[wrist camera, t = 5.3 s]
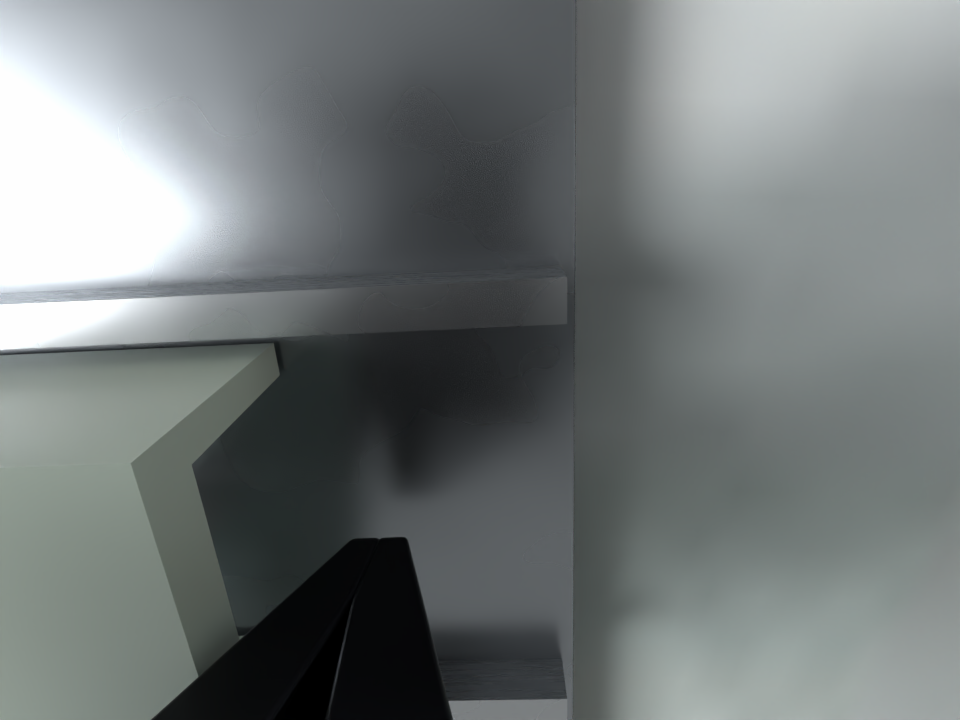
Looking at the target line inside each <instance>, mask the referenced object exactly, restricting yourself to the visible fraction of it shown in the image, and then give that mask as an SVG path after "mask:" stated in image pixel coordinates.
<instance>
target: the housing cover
mask: <svg viewBox="0 0 960 720" xmlns="http://www.w3.org/2000/svg"><path fill="white" fill-rule="evenodd" d="M279 376H280V373H279V368H278V363H277V358H276V353H275V348H274V343H263V344H241V345H218V346H196V347H173V348H151V349H129V350H106V351H84V352H61V353H39V354H17V355H0V720H151V719H152V718H153V717H154V716H155V715H156V714H158V713H159V712H160V711H161V710H162V709H163V708H164V707H165V706H166V705H168V704H169V703H170V702H171V701H172V700H173V699H174V698H175V697H176V696H178V695H179V694H180V693H181V692H182V691H183V690H184V689H185V688H186V687H188V686H189V685H190V684H191V683H192V682H193V681H194V680H195V679H196V678H198V677H199V676H200V675H201V674H202V673H203V672H204V671H205V670H206V669H208V668H209V667H210V666H211V665H212V664H213V663H214V662H215V661H216V660H218V659H219V658H220V657H221V656H222V655H223V654H224V653H225V652H226V651H228V650H229V649H230V648H231V647H232V646H233V645H234V644H235V643H236V642H238V641H239V640H240V639H241V638H242V637H243V636H238V633H237V629H236V625H235V622H234V618H233V614H232V611H231V607H230V603H229V600H228V596H227V592H226V589H225V585H224V581H223V578H222V574H221V570H220V567H219V563H218V559H217V556H216V552H215V548H214V545H213V541H212V537H211V534H210V530H209V527H208V523H207V519H206V516H205V512H204V508H203V505H202V501H201V497H200V494H199V490H198V486H197V483H196V479H195V475H194V472H193V468H192V464H193V463H194V462H195V461H196V460H197V459H198V458H199V457H200V456H201V455H202V454H203V453H204V452H205V451H206V450H207V449H208V448H209V447H210V445H211V444H212V443H213V442H214V441H215V440H216V439H217V438H218V437H219V436H220V435H221V434H222V433H223V432H224V431H225V430H226V429H227V428H228V427H229V426H230V425H231V424H232V423H233V422H234V421H235V420H236V419H237V418H238V417H239V416H240V415H241V414H242V413H243V412H244V411H245V410H246V409H247V408H248V407H249V406H250V405H251V404H252V403H253V402H254V401H255V400H256V399H257V398H258V397H259V396H260V395H261V394H262V393H263V392H264V391H265V390H266V389H267V388H268V387H269V386H270V385H271V384H272V383H273V382H274V381H275V380H276V379H277V378H278V377H279Z"/></svg>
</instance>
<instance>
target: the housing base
mask: <svg viewBox="0 0 960 720" xmlns="http://www.w3.org/2000/svg"><path fill="white" fill-rule="evenodd" d="M575 115H576V0H0V355H17V354H39V353H61V352H84V351H106V350H129V349H151V348H173V347H196V346H218V345H241V344H263V343H274V348H275V353H276V358H277V363H278V368H279V373H280V376H279V377H278V378H277V379H276V380H275V381H274V382H273V383H272V384H271V385H270V386H269V387H268V388H267V389H266V390H265V391H264V392H263V393H262V394H261V395H260V396H259V397H258V398H257V399H256V400H255V401H254V402H253V403H252V404H251V405H250V406H249V407H248V408H247V409H246V410H245V411H244V412H243V413H242V414H241V415H240V416H239V417H238V418H237V419H236V420H235V421H234V422H233V423H232V424H231V425H230V426H229V427H228V428H227V429H226V430H225V431H224V432H223V433H222V434H221V435H220V436H219V437H218V438H217V439H216V440H215V441H214V442H213V443H212V444H211V445H210V447H209V448H208V449H207V450H206V451H205V452H204V453H203V454H202V455H201V456H200V457H199V458H198V459H197V460H196V461H195V462H194V463H193V464H192V468H193V472H194V475H195V479H196V483H197V486H198V490H199V494H200V497H201V501H202V505H203V508H204V512H205V516H206V519H207V523H208V527H209V530H210V534H211V537H212V541H213V545H214V548H215V552H216V556H217V559H218V563H219V567H220V570H221V574H222V578H223V581H224V585H225V589H226V592H227V596H228V600H229V603H230V607H231V611H232V614H233V618H234V622H235V625H236V629H237V633H238V636H244V635H245V634H246V633H248V632H249V631H250V630H251V629H252V628H253V627H254V626H255V625H256V624H258V623H259V622H260V621H261V620H262V619H263V618H264V617H265V616H266V615H268V614H269V613H270V612H271V611H272V610H273V609H274V608H275V607H276V606H278V605H279V604H280V603H281V602H282V601H283V600H284V599H285V598H286V597H288V596H289V595H290V594H291V593H292V592H293V591H294V590H295V589H296V588H298V587H299V586H300V585H301V584H302V583H303V582H304V581H305V580H306V579H308V578H309V577H310V576H311V575H312V574H313V573H314V572H315V571H316V570H318V569H319V568H320V567H321V566H322V565H323V564H324V563H325V562H326V561H328V560H329V559H330V558H331V557H332V556H333V555H334V554H335V553H336V552H338V551H339V550H340V549H341V548H342V547H343V546H344V545H345V544H346V543H348V542H349V541H350V540H352V539H355V538H378V539H381V538H384V537H405V538H407V539H408V542H409V546H410V550H411V554H412V558H413V562H414V566H415V570H416V574H417V578H418V582H419V585H420V589H421V593H422V597H423V601H424V605H425V609H426V613H427V617H428V621H429V625H430V629H431V633H432V637H433V641H434V645H435V649H436V653H437V657H438V661H439V665H440V669H441V673H442V677H443V681H444V685H445V689H446V693H447V697H448V701H449V705H450V709H451V713H452V717H453V720H573V539H574V327H575Z"/></svg>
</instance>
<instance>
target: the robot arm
mask: <svg viewBox="0 0 960 720" xmlns="http://www.w3.org/2000/svg"><path fill="white" fill-rule="evenodd" d="M151 720H453V717H452V713H451V709H450V705H449V701H448V697H447V693H446V689H445V685H444V681H443V677H442V673H441V669H440V665H439V661H438V657H437V653H436V649H435V645H434V641H433V637H432V633H431V629H430V625H429V621H428V617H427V613H426V609H425V605H424V601H423V597H422V593H421V589H420V585H419V582H418V578H417V574H416V570H415V566H414V562H413V558H412V554H411V550H410V546H409V542H408V539H407V538H405V537H384V538H381V539H378V538H355V539H352V540H350V541H349V542H348V543H346V544H345V545H344V546H343V547H342V548H341V549H340V550H339V551H338V552H336V553H335V554H334V555H333V556H332V557H331V558H330V559H329V560H328V561H326V562H325V563H324V564H323V565H322V566H321V567H320V568H319V569H318V570H316V571H315V572H314V573H313V574H312V575H311V576H310V577H309V578H308V579H306V580H305V581H304V582H303V583H302V584H301V585H300V586H299V587H298V588H296V589H295V590H294V591H293V592H292V593H291V594H290V595H289V596H288V597H286V598H285V599H284V600H283V601H282V602H281V603H280V604H279V605H278V606H276V607H275V608H274V609H273V610H272V611H271V612H270V613H269V614H268V615H266V616H265V617H264V618H263V619H262V620H261V621H260V622H259V623H258V624H256V625H255V626H254V627H253V628H252V629H251V630H250V631H249V632H248V633H246V634H245V635H244V636H243V637H242V638H241V639H240V640H239V641H238V642H236V643H235V644H234V645H233V646H232V647H231V648H230V649H229V650H228V651H226V652H225V653H224V654H223V655H222V656H221V657H220V658H219V659H218V660H216V661H215V662H214V663H213V664H212V665H211V666H210V667H209V668H208V669H206V670H205V671H204V672H203V673H202V674H201V675H200V676H199V677H198V678H196V679H195V680H194V681H193V682H192V683H191V684H190V685H189V686H188V687H186V688H185V689H184V690H183V691H182V692H181V693H180V694H179V695H178V696H176V697H175V698H174V699H173V700H172V701H171V702H170V703H169V704H168V705H166V706H165V707H164V708H163V709H162V710H161V711H160V712H159V713H158V714H156V715H155V716H154V717H153V718H152V719H151Z"/></svg>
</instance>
